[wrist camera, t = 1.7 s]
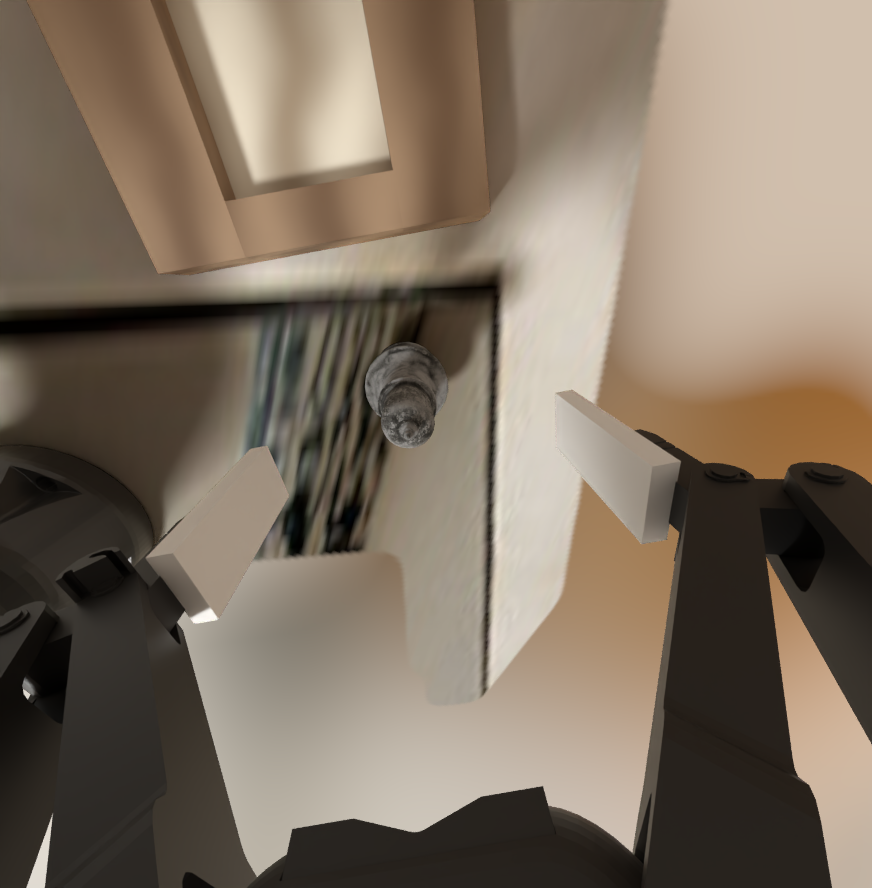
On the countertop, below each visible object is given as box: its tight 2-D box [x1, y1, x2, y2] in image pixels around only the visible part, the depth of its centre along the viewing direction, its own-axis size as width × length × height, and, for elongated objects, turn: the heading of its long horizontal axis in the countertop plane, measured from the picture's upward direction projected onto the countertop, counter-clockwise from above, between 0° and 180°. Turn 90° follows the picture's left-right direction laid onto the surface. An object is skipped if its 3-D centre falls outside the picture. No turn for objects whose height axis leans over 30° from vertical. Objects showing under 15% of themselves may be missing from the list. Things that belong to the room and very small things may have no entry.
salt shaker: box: [365, 342, 448, 448], centre depth 21 cm, size 6×6×12 cm
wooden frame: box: [26, 0, 490, 275], centre depth 18 cm, size 20×15×3 cm
